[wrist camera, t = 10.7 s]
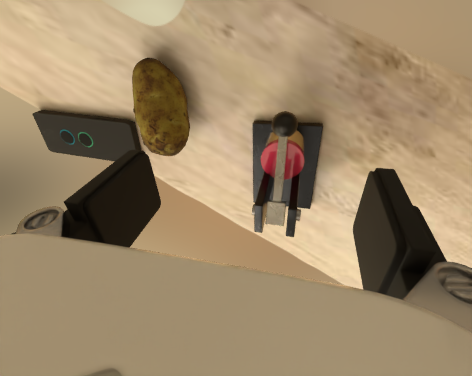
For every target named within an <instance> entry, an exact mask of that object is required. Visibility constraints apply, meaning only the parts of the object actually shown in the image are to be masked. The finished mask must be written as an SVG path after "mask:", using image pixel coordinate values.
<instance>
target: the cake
mask: <svg viewBox="0 0 472 376" xmlns="http://www.w3.org/2000/svg"><path fill="white" fill-rule="evenodd" d="M278 139H279V137H278V136H277V135H275V134H274V132H272V133H271V134H270V135H269V137H268V140H267V143H266V146H265V148H264V150H263V152H262V155H261V165H262V167H263V169H264V171H265V172H266V173H267V174H270V176H271V177H273V178H275V171H276V160H277V149H278ZM304 144H305V143H304V139H303V136H302V135H301V134H300V132H298V131H297V130H296V132H295V133H294V134H293V135H292V136H290V137H288V142H287V153H286V163H285V173H284V180H285V179H290V178H292V177H295V176H296V175H298V174H299V173H300V172H301V170H302V169H303V166H304V158H305V157H304Z"/></svg>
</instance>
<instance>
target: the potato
mask: <svg viewBox="0 0 472 376" xmlns="http://www.w3.org/2000/svg"><path fill="white" fill-rule="evenodd" d="M132 83H133V98H134V109H133V111H134V113H135V119H136V122H137V124H138V126H139V127H140V132H141V137H142V139H143V143H144V145H146V146H147V147H148V149H149V150H150V151H151V152H152V153H156V154H159V155H164V156H173V155H176V154H178V153H179V152H180V151H181V150H182V149H183V147H184V146H185V145H186V142H187V140H188V136H189V129H190V123H189V117H188V112H187V99H186V96H185V93H184V90H183V88H182V86H181V84H180V82H179V80H178V79H177V77H176V76H175V75H174V74H173V72H172V71H171V70H170V69H168V68H167V67H166V66H165V65H164V64H163V63H161V62H160V61H159V60H157V59H153V58H145V59H143V60H141V61H140V62H138V63H137V65H136V66H135V68H134V70H133V76H132Z"/></svg>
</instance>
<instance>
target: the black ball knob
mask: <svg viewBox="0 0 472 376" xmlns="http://www.w3.org/2000/svg"><path fill="white" fill-rule="evenodd" d="M297 127H298V121H297V118H296V117H295V115H294V114H292V113H290V112H287V111H284V112H280V113H278V114H277V115H276V116H275V117H274V118H273V120H272V130H273V132H274V134H275V135H277V136H278V137H279V139H278V149H277V160H276V171H275V181H274V192H273V200H269V201H268V203H267V214H266V224H271V225H279V226H283V225H284V219H285V209H286V201H282V194H283V184H284V173H285V163H286V153H287V142H288V137H290V136H292V135H293V134H294V133H295V132H296V130H297Z"/></svg>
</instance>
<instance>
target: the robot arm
mask: <svg viewBox="0 0 472 376" xmlns="http://www.w3.org/2000/svg"><path fill="white" fill-rule="evenodd" d="M64 203H65V205H66V207H67V210H66V211H65V212H64V211H63V209H62V208H60V207H56V206H52V207H46V208H42V209H39V210H36V211H35V212H32V213H30V214H29V215H27V216H26V217H24V219H22V220H21V221H20V223H19V225H18V228H17V231H16V232H15V233H12V234H9V235H2V236H0V376H472V268H470V267H467V266H465V265H462V264H458V263H455V262H447V261H446V259H445V257H444V255H443V253H442V251H441V249H440V247H439V246H438V244H437V242H436V240H435V238H434V236H433V234H432V232H431V230H430V229H429V227H428V225H427V223H426V221H425V219H424V217H423V215H422V213H421V212H420V210H419V209H418V207H416V206H413V205H412V203H411V201H410V199H409V197H408V195H407V193H406V191H405V189H404V187H403V185H402V183H401V181H400V179H399V177H398V176H397V174H396V172H395V170H394V169H383V168H376V169H375V171H374V172H372V171H370V172H369V174H368V177H367V181H366V184H365V188H364V191H363V194H362V198H361V201H360V204H359V208H358V211H357V215H356V218H355V221H354V225H353V234H354V240H355V245H356V251H357V256H358V262H359V267H360V273H361V278H362V284H363V289H364V290H362V289H358V288H353V287H349V286H344V285H339V284H334V283H329V282H323V281H318V280H312V279H307V278H302V277H296V276H291V275H285V274H279V273H273V272H268V271H263V270H257V269H251V268H246V267H240V266H234V265H229V264H223V263H217V262H211V261H206V260H199V259H193V258H188V257H182V256H176V255H170V254H164V253H159V252H153V251H147V250H141V249H135V248H129V247H130V246H131V245H132V244H133V242H134V241H135V240H136V238H137V237H138V236H139V234H140V233H141V232H142V230H143V229H144V228H145V226H146V225H147V224H148V222H149V221H150V220H151V218H152V217H153V216H154V214H155V213H156V212H157V211H158V209H159V208H160V205H161V200H160V196H159V192H158V189H157V186H156V181H155V178H154V174H153V170H152V167H151V163H150V159H149V156H148V155H147V154H145V152H144V151H140V150H129V151H128V152H127V153H125V154H124V155H123V156H121V157H120V158H119V159H118V160H116V161H115V162H114V163H113V164H111V165H110V166H109V167H107V168H106V169H105V170H104V171H102V172H101V173H100V174H99V175H97V176H96V177H95V178H93V179H92V180H91V181H90V182H88V183H87V184H86V185H85V186H83V187H82V188H81V189H79V190H78V191H77V192H76V193H74V194H73V195H72V196H70V197H69V198H68V199H67V200H66V201H64Z"/></svg>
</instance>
